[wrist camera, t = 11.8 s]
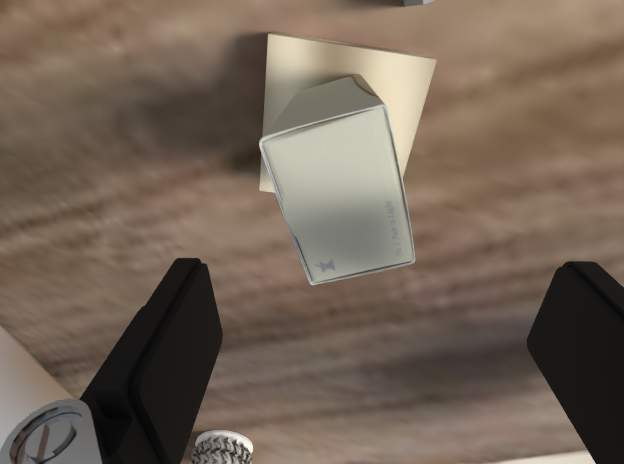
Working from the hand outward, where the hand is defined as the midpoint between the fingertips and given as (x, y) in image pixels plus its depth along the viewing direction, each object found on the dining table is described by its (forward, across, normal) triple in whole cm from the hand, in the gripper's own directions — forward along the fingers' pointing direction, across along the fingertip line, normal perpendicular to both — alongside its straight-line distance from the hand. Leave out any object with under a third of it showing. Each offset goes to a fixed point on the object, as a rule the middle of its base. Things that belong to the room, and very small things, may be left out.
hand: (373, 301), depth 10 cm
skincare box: (+16, +1, -1) cm, 16 cm away
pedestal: (+20, +1, 0) cm, 20 cm away
